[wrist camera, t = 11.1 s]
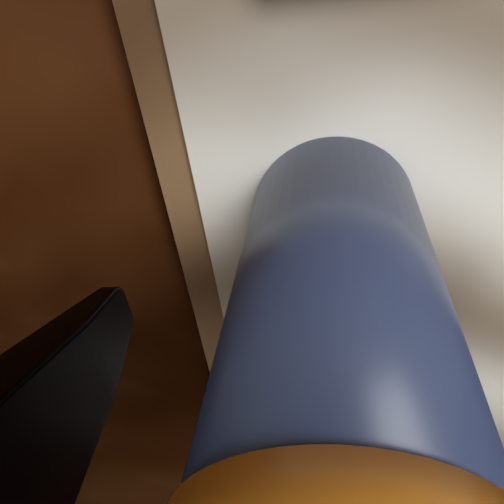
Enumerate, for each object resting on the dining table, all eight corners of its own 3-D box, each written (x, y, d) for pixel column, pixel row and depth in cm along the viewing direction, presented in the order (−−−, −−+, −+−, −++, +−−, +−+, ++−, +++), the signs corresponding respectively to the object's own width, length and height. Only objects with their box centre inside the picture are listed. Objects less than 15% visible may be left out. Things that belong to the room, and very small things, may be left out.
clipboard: (621, 484, 18) (644, 528, 16) (239, 466, 20) (234, 503, 19) (1038, -261, 7) (1208, -309, 6) (100, -90, 9) (64, -94, 8)
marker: (413, 275, 13) (538, 751, 5) (261, 279, 13) (184, 701, 6) (424, 124, 10) (679, 600, 3) (240, 139, 11) (72, 546, 4)
